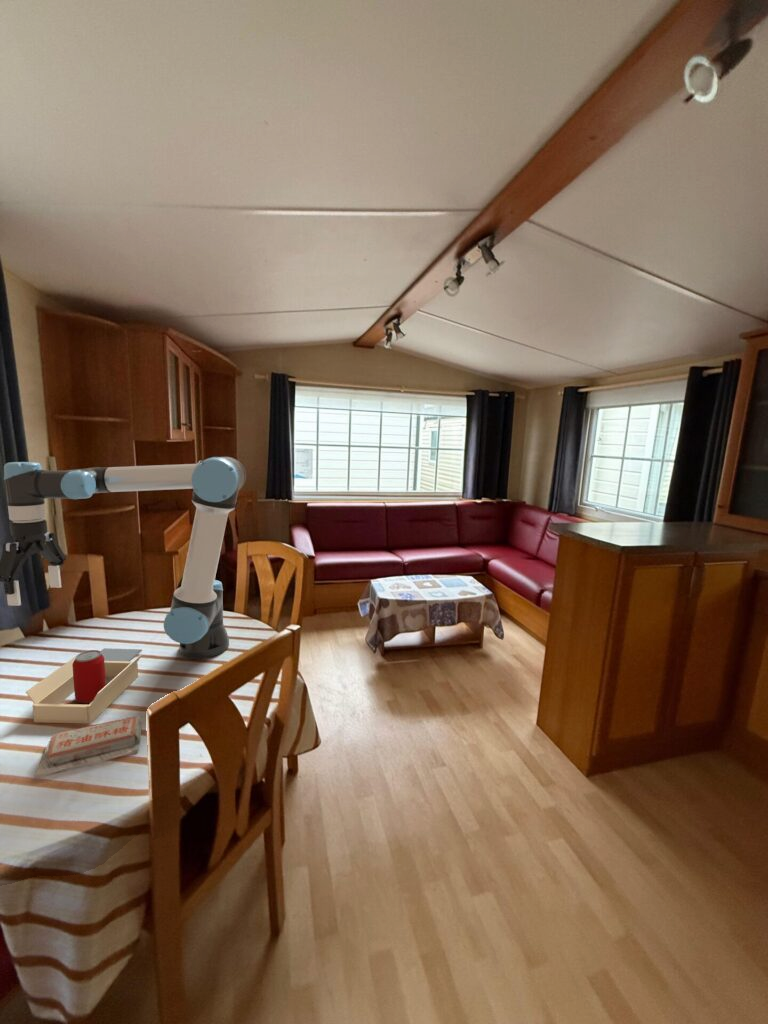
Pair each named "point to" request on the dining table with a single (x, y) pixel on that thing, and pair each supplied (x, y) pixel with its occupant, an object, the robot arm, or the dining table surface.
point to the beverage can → (88, 675)
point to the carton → (62, 685)
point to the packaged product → (90, 745)
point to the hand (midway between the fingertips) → (36, 595)
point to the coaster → (119, 654)
